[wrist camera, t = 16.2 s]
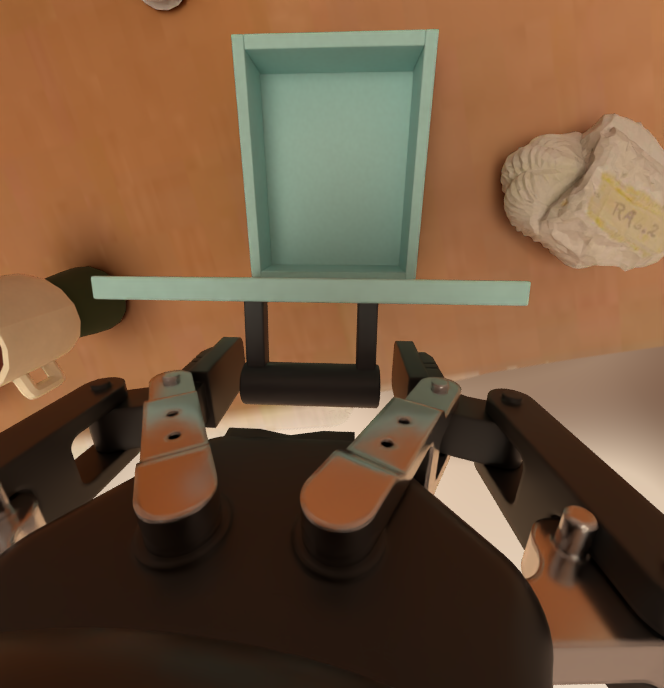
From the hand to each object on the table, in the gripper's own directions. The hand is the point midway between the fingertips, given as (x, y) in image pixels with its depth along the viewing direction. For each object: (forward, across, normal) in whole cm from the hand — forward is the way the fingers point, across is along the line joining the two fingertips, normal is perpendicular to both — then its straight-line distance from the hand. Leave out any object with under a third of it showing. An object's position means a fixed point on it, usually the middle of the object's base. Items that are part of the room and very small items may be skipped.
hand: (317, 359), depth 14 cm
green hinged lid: (+4, 0, -3) cm, 5 cm away
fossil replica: (+18, -18, -7) cm, 27 cm away
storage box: (+18, 0, -9) cm, 20 cm away
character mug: (+18, +24, +2) cm, 30 cm away
